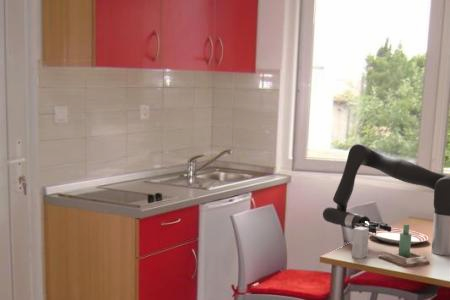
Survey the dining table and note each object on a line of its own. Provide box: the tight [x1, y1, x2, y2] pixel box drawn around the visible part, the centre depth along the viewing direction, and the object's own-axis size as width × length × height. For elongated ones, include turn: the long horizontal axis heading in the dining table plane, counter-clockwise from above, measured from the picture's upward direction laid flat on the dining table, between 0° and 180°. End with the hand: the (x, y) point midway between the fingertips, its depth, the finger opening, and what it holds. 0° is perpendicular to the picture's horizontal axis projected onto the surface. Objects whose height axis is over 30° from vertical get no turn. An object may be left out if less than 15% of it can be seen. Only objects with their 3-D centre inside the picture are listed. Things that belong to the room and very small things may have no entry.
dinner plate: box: [369, 227, 429, 245], centre depth 281 cm, size 27×27×3 cm
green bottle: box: [398, 223, 412, 258], centre depth 242 cm, size 4×4×14 cm
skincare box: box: [351, 227, 370, 260], centre depth 247 cm, size 6×4×12 cm
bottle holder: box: [378, 251, 431, 268], centre depth 243 cm, size 14×14×3 cm
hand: (383, 230), depth 254 cm, fingers open, 8 cm apart
